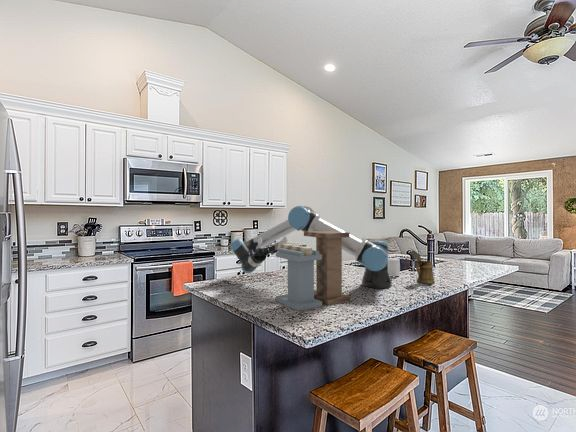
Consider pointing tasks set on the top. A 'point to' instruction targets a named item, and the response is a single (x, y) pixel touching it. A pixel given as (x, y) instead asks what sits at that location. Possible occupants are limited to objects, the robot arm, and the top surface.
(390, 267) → the cup
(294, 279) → the low bracket
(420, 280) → the wooden mug
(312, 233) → the tall bracket
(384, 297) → the top surface
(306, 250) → the rail
